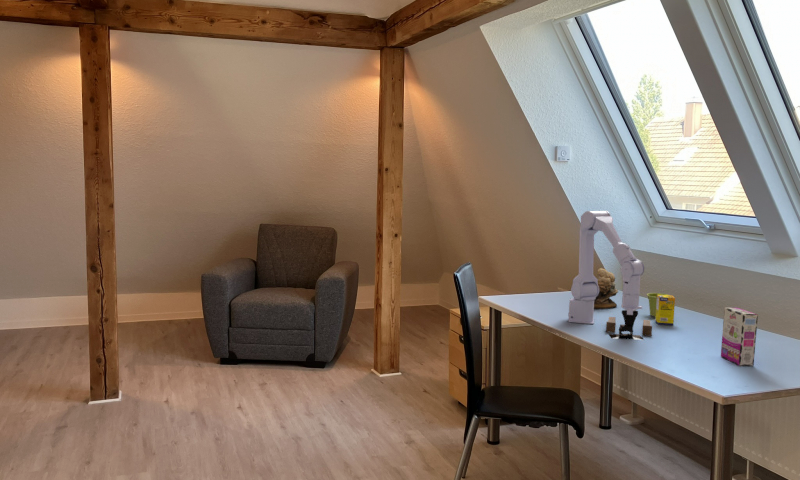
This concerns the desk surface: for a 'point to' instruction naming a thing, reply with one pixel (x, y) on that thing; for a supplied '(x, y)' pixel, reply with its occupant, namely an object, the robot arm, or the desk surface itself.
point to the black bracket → (626, 336)
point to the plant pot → (653, 302)
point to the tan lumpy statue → (605, 290)
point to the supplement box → (665, 309)
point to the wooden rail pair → (645, 331)
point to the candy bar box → (739, 336)
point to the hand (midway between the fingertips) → (628, 330)
